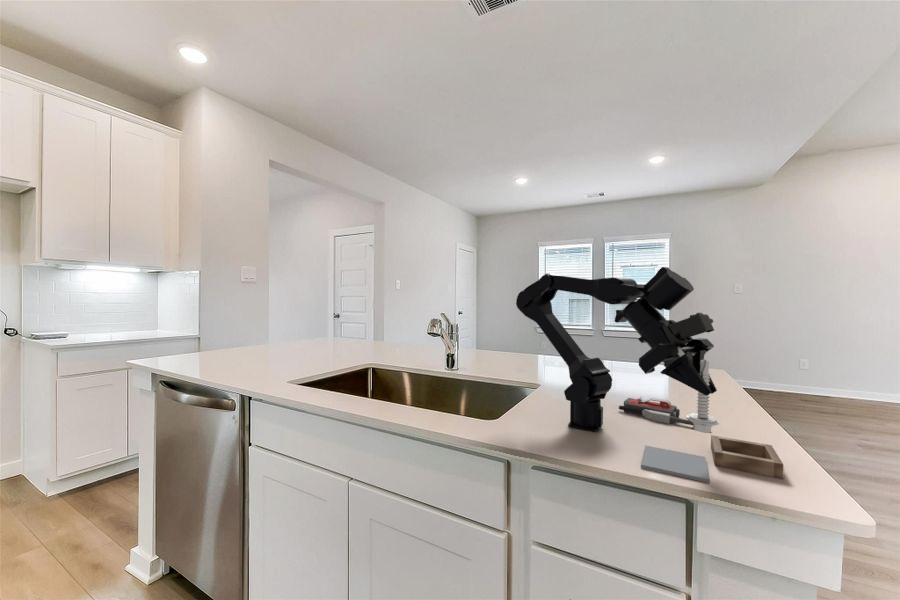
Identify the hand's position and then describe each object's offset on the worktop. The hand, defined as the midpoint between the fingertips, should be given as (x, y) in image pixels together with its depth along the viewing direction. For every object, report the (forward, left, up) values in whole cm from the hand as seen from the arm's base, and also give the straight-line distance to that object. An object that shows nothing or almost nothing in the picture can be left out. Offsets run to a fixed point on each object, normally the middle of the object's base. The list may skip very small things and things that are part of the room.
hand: (711, 393), depth 66 cm
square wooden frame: (+5, +6, -13) cm, 16 cm away
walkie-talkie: (-8, +27, -14) cm, 31 cm away
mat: (-6, -2, -13) cm, 15 cm away
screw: (-1, +1, -7) cm, 7 cm away
